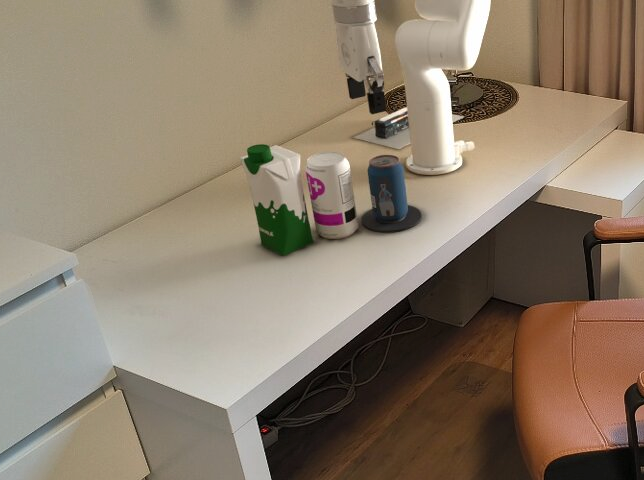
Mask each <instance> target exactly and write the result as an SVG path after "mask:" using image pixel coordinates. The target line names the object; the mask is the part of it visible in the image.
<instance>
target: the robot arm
mask: <svg viewBox="0 0 644 480" xmlns="http://www.w3.org/2000/svg"><path fill="white" fill-rule="evenodd" d="M330 1H331V7H332V14H333V19H334V21H333V22H334V24H335V26H336V27H335V29H336V31H335V32H336V42H337V51H338V60H339V67H340V69H341V70H342V71H343V72H344V74H345V77H346V84H347V90H348V97H349V98H350V99H351V100H356V99H359V98H364V97H367V104H368V112H369V114H371V115H375V114H380V113H384V112H387V103H386V95H385V94H386V93H385V79H384V78H385V73H384V71H383V64H382V56H381V50H380V45H379V40H378V35H377V29H376V25H375V22H376V21H377V19H378V17H377V12H376V11H377V10H376V3H375V0H330ZM414 9H415V11H416V13H417V14H418V16H420V17H421V18H422V19H419V18H418V19H410V20H406V21H404V22H403V23H402V24H400V25H399V27H398V28H397V30H396V32H395V37H394V44H395V51H396V55H397V58H398V61H399V64H400V69H401V72H402V77H403V82H404V91H405V101H406V102H405V103H406V107H407V111H408V121H409V130H410V139H411V143H410V145H411V146H410V149H411V155H409V156H408V157H407V158H406V159H405V167H406V168H407V170H409V171H410V172H412V173H414V174H418V175H423V176H437V175H438V176H439V175H443V174H449V173H452V172H453V171H456V170H458V169H459V168H460V167H462V165H463V156H462V155H463V152H464V153H465V152H469V151H473V150H475V148H476V147H475V143H474V141H473V140H472V141H471V140H470V141H467V142H465V141H464V140H463V139H461V140H458V141H455V140H454V139H455V137H454V125H453V123H452V114H453V112H452V101H451V88H450V83H449V80H448V79H447V76H446V75H445V73H444V71H443V70H446V71H463V72H464V71H468V70H470V69H472V68H473V67H474V66H475V63H476V61H477V59H478V56H479V54H480V49H481V46H482V43H483V37H484V34H485V31H486V27H487V23H488V19H489V15H490V10H491V0H414ZM371 82H372V83H371ZM366 89H367V91H368V92H367V91H366Z"/></svg>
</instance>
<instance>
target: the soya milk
mask: <svg viewBox="0 0 644 480" xmlns="http://www.w3.org/2000/svg"><path fill="white" fill-rule="evenodd" d="M246 152H247V154H246V155H243V156H241V157H240V158H239V159H240V162H241V164H242V166H243V170H244V172H245V175H246V178H247V180H248V181H247V182H248V185H249V190H250V193H251V198H252V203H253V207H254V208H253V209H254V212H255V217H256V222H257V226H258V231H259V232H258V233H259V238H260V243H261V246H262V247H264V248H266V249H268V250H270V251H272V252H274V253H276V254H278V255H280V256H282V257H284V256H287V255H289V254H291V253H293V252H295V251H299V250H300V249H302V248H304V247H307V246H309V245H311V244H313V243H314V238H313V233H312V229H311V225H310V219H309V214H308V209H307V203H306V199H305V193H304V186H303V181H302V175H301V154H299V153H297V152H294V151H292V150H289V149H287V148H285V147H282V146H279V145H277V144H275V145H273V146H270V145H268V144H263V143H261V144H259V143H258V144H254V145H250V146H248V148H247V149H246Z"/></svg>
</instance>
